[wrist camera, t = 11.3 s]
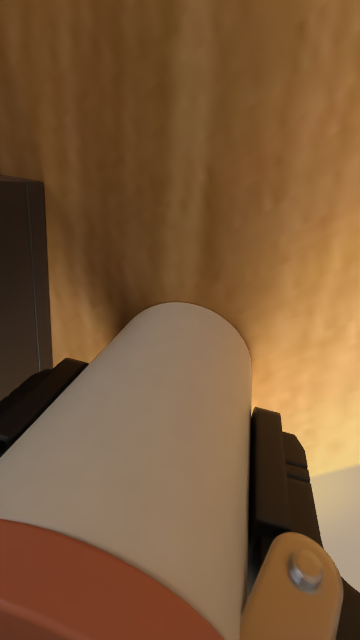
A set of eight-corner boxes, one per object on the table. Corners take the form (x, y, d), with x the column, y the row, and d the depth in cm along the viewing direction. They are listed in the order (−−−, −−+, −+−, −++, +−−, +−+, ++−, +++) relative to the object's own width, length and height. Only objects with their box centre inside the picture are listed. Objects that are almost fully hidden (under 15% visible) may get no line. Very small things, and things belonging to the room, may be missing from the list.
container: (151, 270, 11) (-153, 505, 3) (285, 350, 11) (371, 813, 3) (97, 377, 14) (-146, 667, 5) (207, 442, 14) (134, 829, 5)
